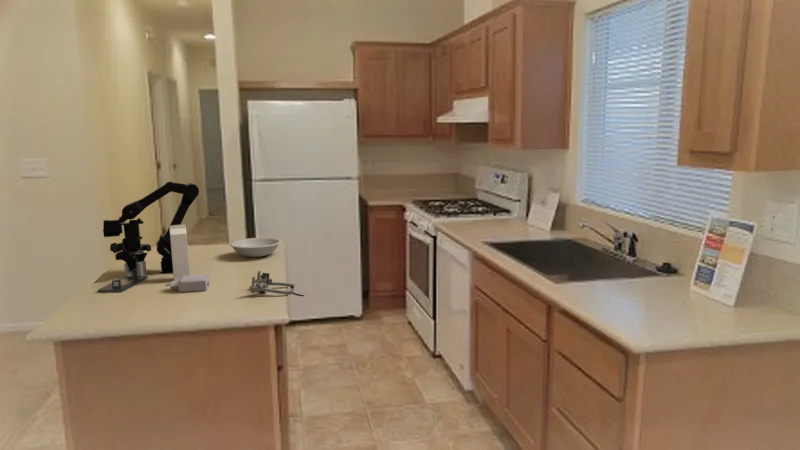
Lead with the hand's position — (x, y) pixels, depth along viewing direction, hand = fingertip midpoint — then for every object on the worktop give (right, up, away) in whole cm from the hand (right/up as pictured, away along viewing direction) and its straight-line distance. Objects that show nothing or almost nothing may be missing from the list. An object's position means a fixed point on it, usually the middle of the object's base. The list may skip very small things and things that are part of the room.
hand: (135, 272), depth 238 cm
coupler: (0, -1, 0) cm, 1 cm away
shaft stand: (+2, -4, -15) cm, 16 cm away
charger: (+30, -5, -23) cm, 38 cm away
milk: (+22, -2, -8) cm, 24 cm away
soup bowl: (+42, +5, +33) cm, 53 cm away
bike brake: (+65, -5, -29) cm, 71 cm away
